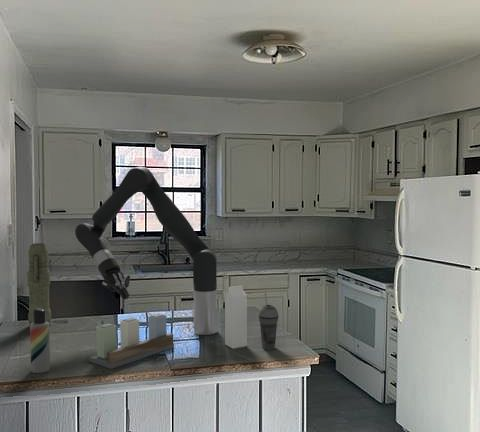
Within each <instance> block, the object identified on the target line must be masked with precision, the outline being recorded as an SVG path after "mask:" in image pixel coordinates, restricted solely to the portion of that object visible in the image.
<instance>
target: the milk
mask: <svg viewBox="0 0 480 432" xmlns="http://www.w3.org/2000/svg"><path fill="white" fill-rule="evenodd" d="M247 298H248V295H247V293H246V292H245V291H244V286H243V285H234V286H233V285H232V286H229V287H228V290H227V292H225V293H224V334H225V335H224V345H226V346H228V347H229V348H231V349H238V348H239V349H240V348H244V347H247V346H248V341H247V340H248V332H247V331H248V329H247V328H248V326H247V325H248V319H247V318H248V315H247V314H248V313H247V312H248V308H247V307H248V306H247V305H248V303H247V302H248V299H247Z"/></svg>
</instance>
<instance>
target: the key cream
mask: <svg viewBox="0 0 480 432" xmlns="http://www.w3.org/2000/svg"><path fill="white" fill-rule="evenodd" d="M119 323H120V328H119V329H120V348H124V347H127V346H130V345H134V344H137V343H139V342H140V319H139V318H134V317H129V318H124V319H121V320H120V322H119Z"/></svg>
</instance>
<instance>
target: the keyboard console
mask: <svg viewBox="0 0 480 432" xmlns="http://www.w3.org/2000/svg"><path fill="white" fill-rule="evenodd" d="M171 348H172V349H174V348H175V343H174V333H171V332H170V333H168V334H167V335H163V336H160V337H157V338H153V339H150V340H149V338H148V339H144V340H142V341H139V343H137V344H134V345H130V346H127V347H124V348H121V347H118V348H116V350H114V351H111V352H107V358H105V359H103V358H100V357H97V354H95V355H92V356H89V359H88V360H89V363H93V364H94V365H98V366H102V367H103V368H107V369H110V370H112V369H115V368H119V367H121V366H123V365H127V364H130V363H133V362H135V361H139V360H141V359H145V358H147V356H148V357H151V356H153V355H152V354H154V355H156V353H157V354H159V353H158V352H160V353H162V352H161V351H163V352H165V351H164V350H166V351H168V350H167V349H169V350H171ZM150 355H151V356H150Z"/></svg>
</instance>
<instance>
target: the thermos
mask: <svg viewBox="0 0 480 432" xmlns="http://www.w3.org/2000/svg"><path fill="white" fill-rule="evenodd" d="M28 248H29V249H28V263H29V264H28V270H27V287H28V299H29V300H28V301H29V302H28V303H29V304H28V306H29V310H28V314H27V319H28V328H29V329H30V324H31V323H33V310H34V308H45V309H46V322H49V328H50V327H51V325H52V323H51V320H52V311H51V308H50V286H51V271H50V268H49V250H48V247H47V244H46V243H44V242H39V243H38V242H37V243H35V242H34V243H31V244H30V246H29V247H28Z"/></svg>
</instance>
